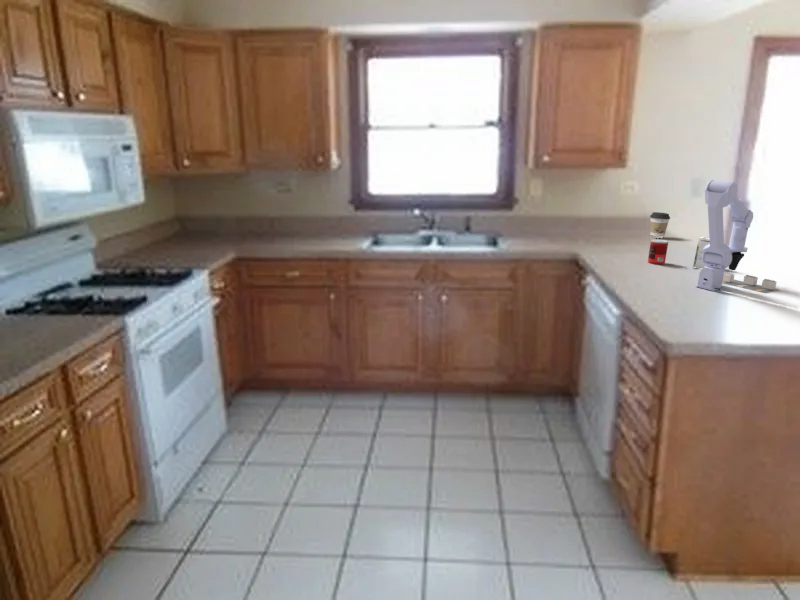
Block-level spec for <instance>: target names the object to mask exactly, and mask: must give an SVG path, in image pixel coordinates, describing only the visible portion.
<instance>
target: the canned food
mask: <svg viewBox="0 0 800 600" xmlns="http://www.w3.org/2000/svg"><path fill="white" fill-rule="evenodd" d="M668 246H669V241H668V240H665V239H652V238H651V240H650V245H649V250H648V258H647V262H648V263H649V264H650V265H651V264H652V265H659V266H661V265H665V263H666V260H667V259H666V257H667V252H668Z"/></svg>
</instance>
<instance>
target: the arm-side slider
mask: <svg viewBox="0 0 800 600" xmlns="http://www.w3.org/2000/svg"><path fill="white" fill-rule="evenodd" d="M734 278H735V274H734V273H731V272H726V271H724V276H723V281H726V282H733V280H735V279H734Z"/></svg>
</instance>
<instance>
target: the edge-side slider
mask: <svg viewBox="0 0 800 600" xmlns="http://www.w3.org/2000/svg"><path fill="white" fill-rule="evenodd" d="M761 287H762V288H766V289H771V290H772V289H776V287H777V281H775V280H772V279H768V278H764V279H763V280H762V283H761Z"/></svg>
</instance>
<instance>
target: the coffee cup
mask: <svg viewBox="0 0 800 600" xmlns="http://www.w3.org/2000/svg"><path fill="white" fill-rule="evenodd" d="M649 218H650V229H649V230H650V231H649V232H650V234H649V236H650V235H653V236H664V237H665V235H666V232H667V228H668V226H669V225H668V224H669V222H670V220H671V216H670V213H666V212H659V211H658V212H656V211H655V212H654V211H653V212H652V213H651V214H650V216H649Z"/></svg>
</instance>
